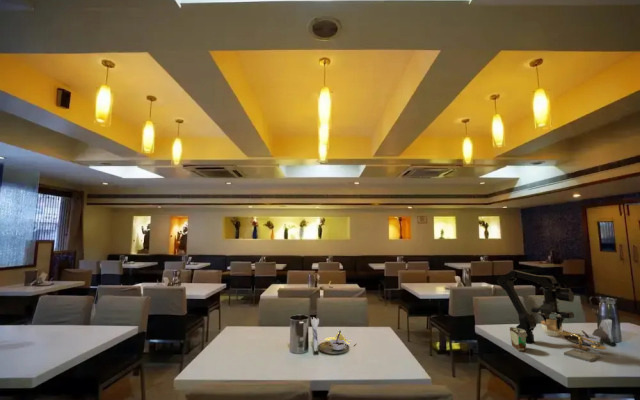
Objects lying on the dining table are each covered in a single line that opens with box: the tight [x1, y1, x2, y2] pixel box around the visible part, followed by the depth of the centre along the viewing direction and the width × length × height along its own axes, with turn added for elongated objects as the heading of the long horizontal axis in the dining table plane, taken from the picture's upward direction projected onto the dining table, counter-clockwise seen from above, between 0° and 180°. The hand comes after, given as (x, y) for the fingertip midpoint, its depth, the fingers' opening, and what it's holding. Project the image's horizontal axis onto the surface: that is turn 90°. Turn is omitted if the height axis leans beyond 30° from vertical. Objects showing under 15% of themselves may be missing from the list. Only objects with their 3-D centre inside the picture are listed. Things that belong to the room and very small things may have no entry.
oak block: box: [546, 318, 561, 332], centre depth 170 cm, size 4×4×6 cm
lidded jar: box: [540, 320, 563, 338], centre depth 194 cm, size 11×11×9 cm
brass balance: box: [557, 329, 607, 352], centre depth 170 cm, size 22×6×8 cm, turn 28°
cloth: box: [324, 331, 351, 344], centre depth 183 cm, size 22×19×6 cm
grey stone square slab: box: [563, 348, 601, 363], centre depth 158 cm, size 11×11×1 cm
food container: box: [509, 326, 527, 353], centre depth 170 cm, size 12×6×10 cm, turn 168°
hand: (553, 328), depth 170 cm, fingers closed on oak block, 4 cm apart
